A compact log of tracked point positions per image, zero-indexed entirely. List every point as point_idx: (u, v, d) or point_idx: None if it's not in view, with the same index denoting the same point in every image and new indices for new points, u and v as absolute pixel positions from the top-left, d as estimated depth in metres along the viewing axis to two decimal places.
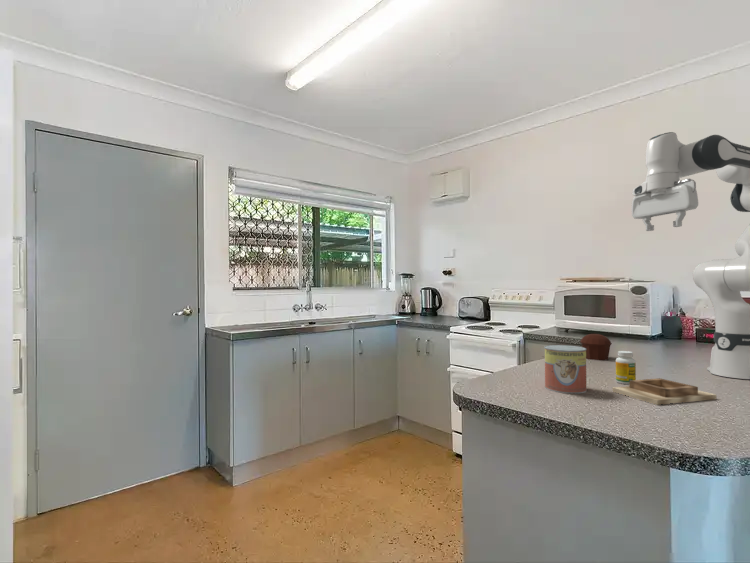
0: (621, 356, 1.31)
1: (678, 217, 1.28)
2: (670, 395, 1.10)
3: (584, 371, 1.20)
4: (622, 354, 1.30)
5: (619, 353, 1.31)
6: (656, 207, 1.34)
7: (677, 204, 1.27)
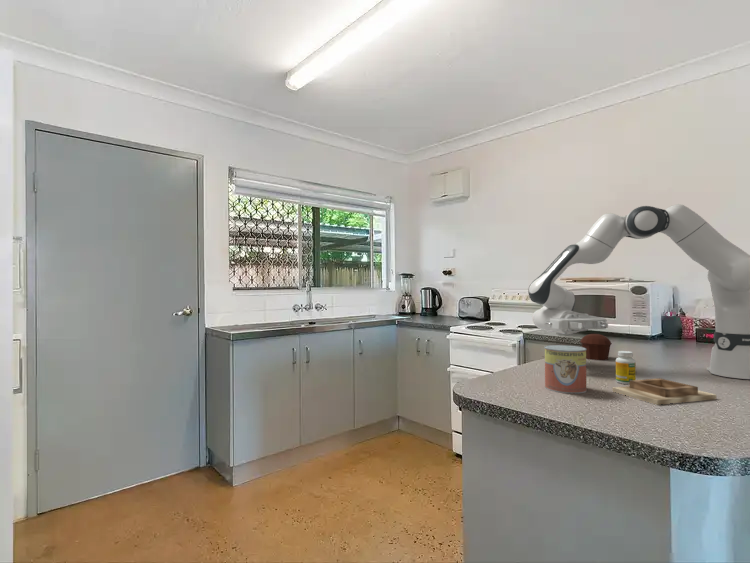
0: (621, 356, 1.31)
1: (575, 328, 1.44)
2: (670, 395, 1.10)
3: (584, 371, 1.20)
4: (622, 354, 1.30)
5: (619, 353, 1.31)
6: None
7: None
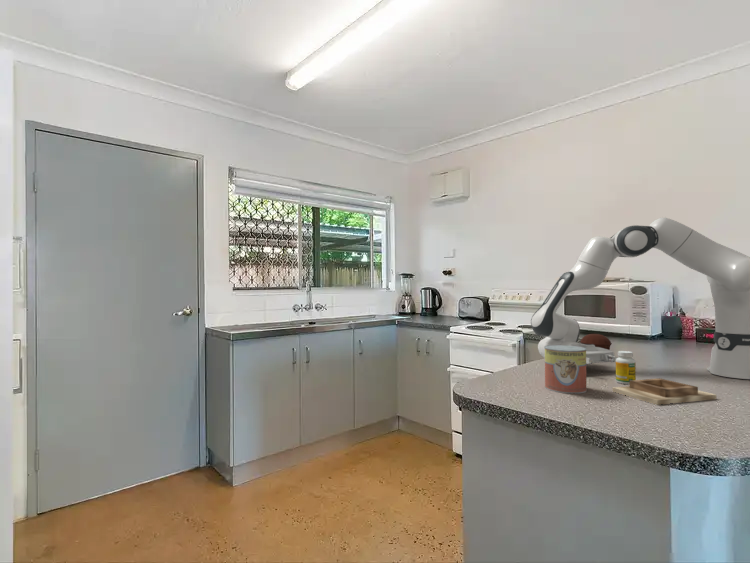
0: (621, 356, 1.31)
1: None
2: (670, 395, 1.10)
3: (584, 371, 1.20)
4: (622, 354, 1.30)
5: (619, 353, 1.31)
6: None
7: None
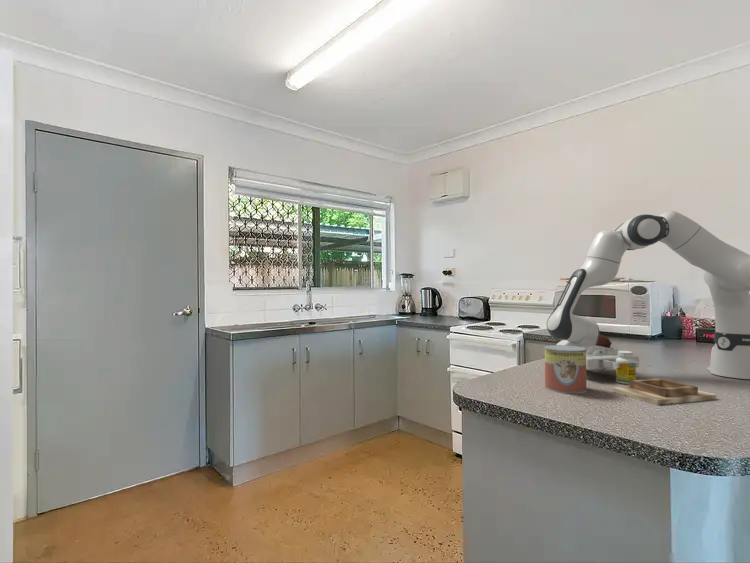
0: (621, 356, 1.31)
1: (609, 367, 1.32)
2: (670, 395, 1.10)
3: (584, 371, 1.20)
4: (622, 354, 1.30)
5: (619, 353, 1.31)
6: None
7: None
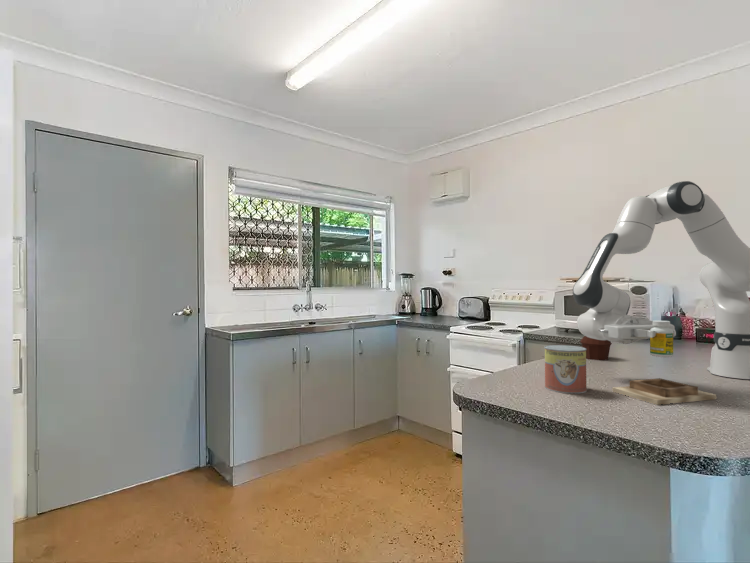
0: (657, 326, 1.16)
1: (643, 336, 1.17)
2: (670, 395, 1.10)
3: (584, 371, 1.20)
4: (658, 323, 1.15)
5: (654, 322, 1.16)
6: None
7: None
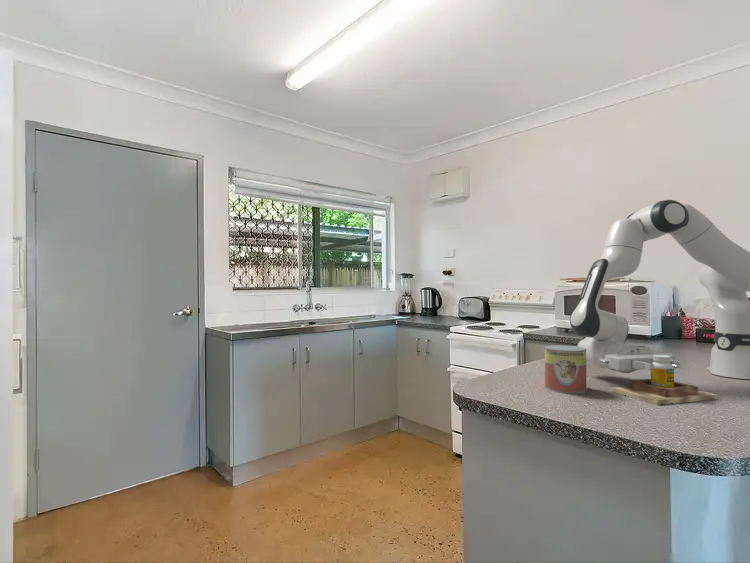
0: (657, 361, 1.16)
1: (640, 368, 1.17)
2: (670, 395, 1.10)
3: (584, 371, 1.20)
4: (659, 358, 1.15)
5: (655, 357, 1.16)
6: None
7: None
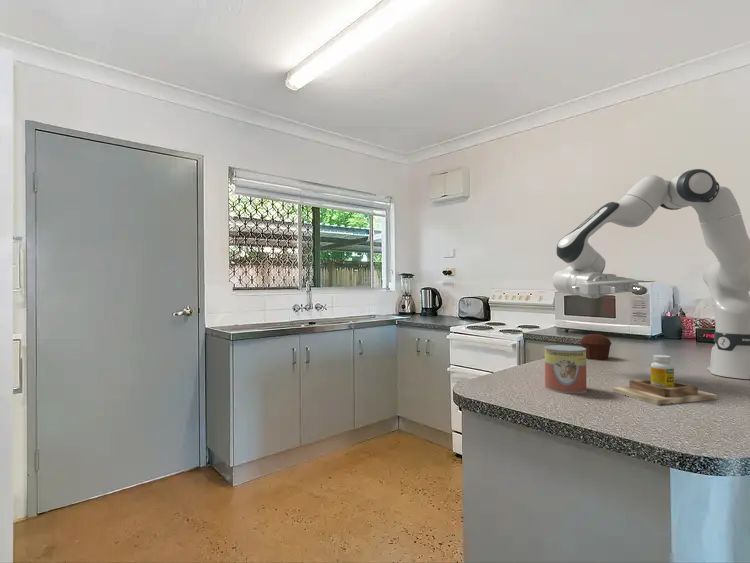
0: (658, 361, 1.16)
1: (606, 292, 1.29)
2: (670, 395, 1.10)
3: (584, 371, 1.20)
4: (659, 358, 1.15)
5: (655, 357, 1.16)
6: None
7: None
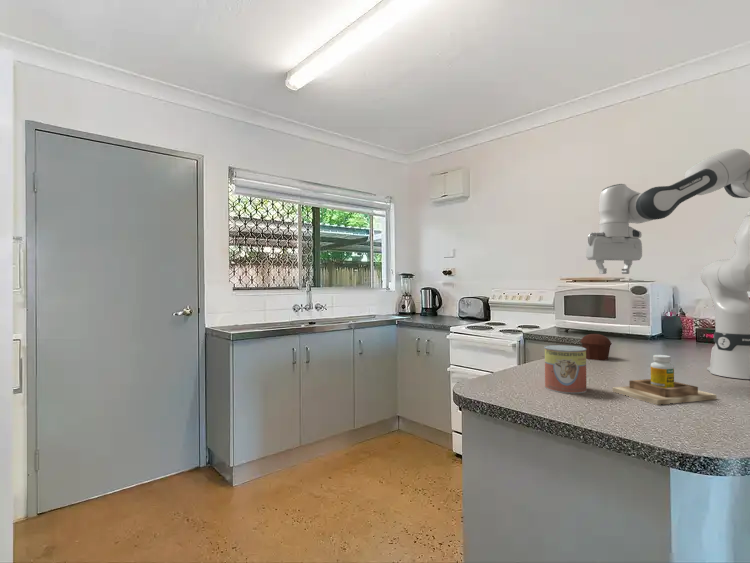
0: (657, 361, 1.16)
1: None
2: (670, 395, 1.10)
3: (584, 371, 1.20)
4: (659, 358, 1.15)
5: (655, 357, 1.16)
6: None
7: None
